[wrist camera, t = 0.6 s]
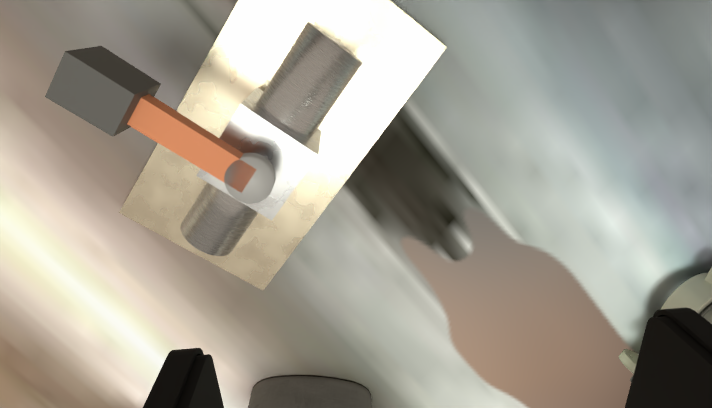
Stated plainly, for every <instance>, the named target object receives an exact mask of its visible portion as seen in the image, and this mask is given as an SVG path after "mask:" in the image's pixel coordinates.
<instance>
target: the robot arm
mask: <svg viewBox="0 0 712 408" xmlns="http://www.w3.org/2000/svg"><path fill="white" fill-rule="evenodd" d="M143 408H224V406H223V402H222V397H221V393H220V389H219V385H218V380H217V376H216V372H215V368H214V363H213V359H212V356H211V355H209V354H208V355H204V354H203V351H202V350H201V348H193V349H181V350H172V351H171V352H170V353H169V354H168V356H167V358H166V360H165V362H164V364H163V366H162V368H161V371H160V373H159V375H158V377H157V379H156V381H155V383H154V385H153V387H152V390H151V392H150V394H149V396H148V398H147V400H146V402H145V404H144V406H143ZM625 408H712V324H711V323H710V322H709V321H707V320H706V319H705V318H703V317H702V316H701V315H700V314H698V313H697V312H696V311H694V310H693V309H691V308H686V307H685V308H673V309H661V310H658V311H656V312H655V314H654V316H653V317H652V318H650V319H649V320H648V322H647V326H646V330H645V333H644V337H643V341H642V345H641V349H640V352H639V356H638V360H637V364H636V367H635V371H634V375H633V379H632V383H631V386H630V390H629V394H628V398H627V402H626V405H625Z"/></svg>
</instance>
